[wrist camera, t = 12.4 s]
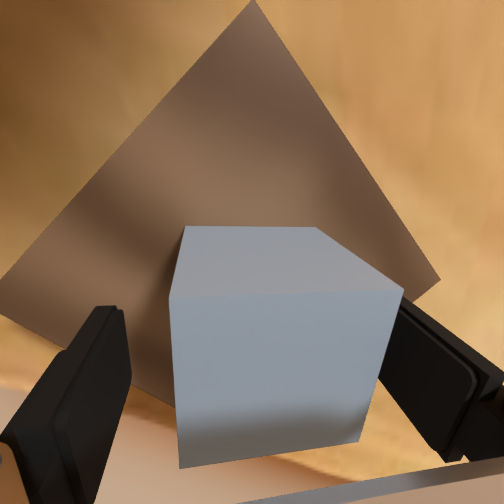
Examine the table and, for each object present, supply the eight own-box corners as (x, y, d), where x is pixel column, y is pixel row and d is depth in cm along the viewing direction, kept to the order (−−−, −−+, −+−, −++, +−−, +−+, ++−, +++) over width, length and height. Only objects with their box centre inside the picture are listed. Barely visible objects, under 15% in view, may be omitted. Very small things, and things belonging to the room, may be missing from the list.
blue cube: (315, 227, 12) (404, 289, 7) (300, 331, 15) (358, 441, 9) (185, 225, 11) (168, 297, 6) (189, 338, 14) (179, 469, 8)
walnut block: (236, 49, 14) (253, -2, 9) (385, 249, 20) (440, 279, 15) (45, 257, 16) (-21, 302, 11) (232, 380, 22) (239, 442, 17)
